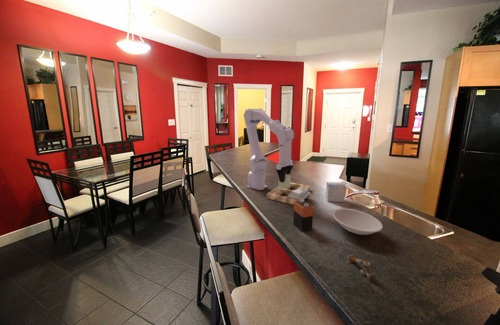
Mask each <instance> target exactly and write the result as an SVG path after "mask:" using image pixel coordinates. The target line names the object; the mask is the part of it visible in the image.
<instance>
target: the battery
mask: <svg viewBox="0 0 500 325" xmlns="http://www.w3.org/2000/svg"><path fill="white" fill-rule="evenodd" d="M313 221H314V206H313V205H311V204H309V203H308V202H306V201H305V199H304V200H303V199H299V201H296V202H294V205H293V219H292V223H293V224H294V225H295V226H296V227H297V228H298V229H299V230H301V232H307V231H311V230H313Z"/></svg>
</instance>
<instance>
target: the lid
mask: <svg viewBox="0 0 500 325" xmlns="http://www.w3.org/2000/svg"><path fill="white" fill-rule="evenodd" d="M309 194H311V192H310V191H308V189H305V190H304V191H301V190H297V189H294V190H293V192H292V193H290V194H289V195H287V197H290V198H294V199H303V200H304V201H305V200H306V197H307V196H308V195H309Z"/></svg>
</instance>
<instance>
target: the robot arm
mask: <svg viewBox="0 0 500 325" xmlns="http://www.w3.org/2000/svg"><path fill="white" fill-rule="evenodd" d="M243 119H244V123H245V124H244V125H245V128H246V133H247V138H248V142H249V148H250V152H251V157H250V158H249V159H248V162H249V163H248V164H249V166H248V167H249V172H248V173H247V186H246V188H249V189H253V190H258V191H262V190H264V189H265V188H267V187H268V186H269V185H267V184H266V172H267V170H268V168H269V163H268V161H267V158H266V156H264V155H263V154H262V150H261V146H260V140H259V137H258V130H257V126H258V125H259V124H260V123H261V122H263V123H264V124H265V125H267V126H268V129H269V130H270V131H271V132H272V133H273V134H275V135H276V138H277V141H278V144H279V150H278V155H279V156H278V163H277V164H276V165H275V171H276V173H277V176H279V180H280V182H283V183H284V181H285V175H286V174H290V175H291V173H292V169H294V163H293V159H292V143H293V142H292V141H293V139H294V138H295V132H294V130H293V128H289V127H287V126H286V125H284V124H283V123H281V121H280V120H278V119H275V120H273V119H272V118H271V117H270V116H269V115H268V114H267V113H266V112H265V110H264V109H262V108H246V109H245V110H244V113H243Z"/></svg>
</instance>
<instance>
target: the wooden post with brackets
mask: <svg viewBox="0 0 500 325" xmlns="http://www.w3.org/2000/svg"><path fill="white" fill-rule="evenodd" d="M346 258H347V262H348V263H356V264H359V265H363V267H364V269H365V270H364V269H359V272H360V274H362V275H363V276H364V275H365V276H366V277H367V279H368V280H371V279H372V274H371V271H370V266H371V263H370V261H368V260H367V259H364V260H363V259H360V258H356V257H355V256H354V255H353V254H351V255H347V256H346Z"/></svg>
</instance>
